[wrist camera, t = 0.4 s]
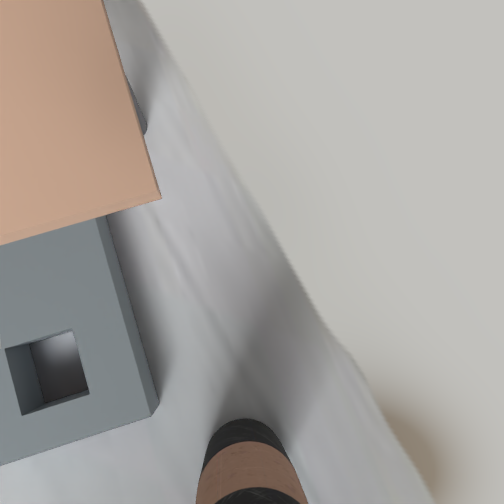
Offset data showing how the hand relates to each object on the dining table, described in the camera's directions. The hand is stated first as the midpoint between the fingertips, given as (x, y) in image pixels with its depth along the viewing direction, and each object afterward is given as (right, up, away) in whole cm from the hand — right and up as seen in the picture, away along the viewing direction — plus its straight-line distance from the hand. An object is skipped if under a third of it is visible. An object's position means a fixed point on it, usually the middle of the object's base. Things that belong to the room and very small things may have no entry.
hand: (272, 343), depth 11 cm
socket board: (-19, -4, +33) cm, 38 cm away
